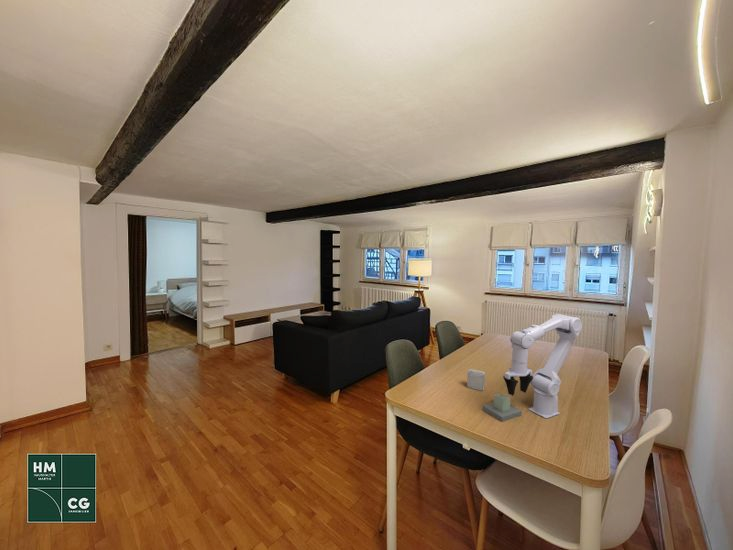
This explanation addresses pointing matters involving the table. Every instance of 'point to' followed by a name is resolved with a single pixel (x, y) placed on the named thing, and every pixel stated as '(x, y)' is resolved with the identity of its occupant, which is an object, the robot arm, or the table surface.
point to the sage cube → (501, 402)
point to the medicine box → (476, 379)
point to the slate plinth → (499, 414)
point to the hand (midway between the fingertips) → (517, 393)
